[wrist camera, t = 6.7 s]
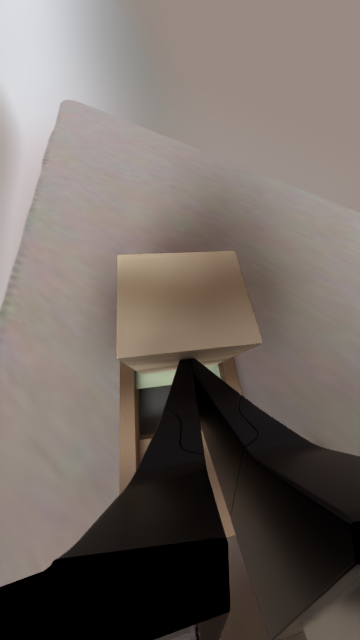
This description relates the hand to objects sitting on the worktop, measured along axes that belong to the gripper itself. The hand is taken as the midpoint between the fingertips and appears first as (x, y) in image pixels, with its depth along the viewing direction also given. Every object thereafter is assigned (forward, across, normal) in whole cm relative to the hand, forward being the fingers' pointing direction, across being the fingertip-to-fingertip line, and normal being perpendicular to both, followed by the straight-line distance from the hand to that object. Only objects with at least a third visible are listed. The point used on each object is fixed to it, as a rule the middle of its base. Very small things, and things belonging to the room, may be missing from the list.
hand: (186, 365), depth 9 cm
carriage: (+6, 0, +2) cm, 6 cm away
